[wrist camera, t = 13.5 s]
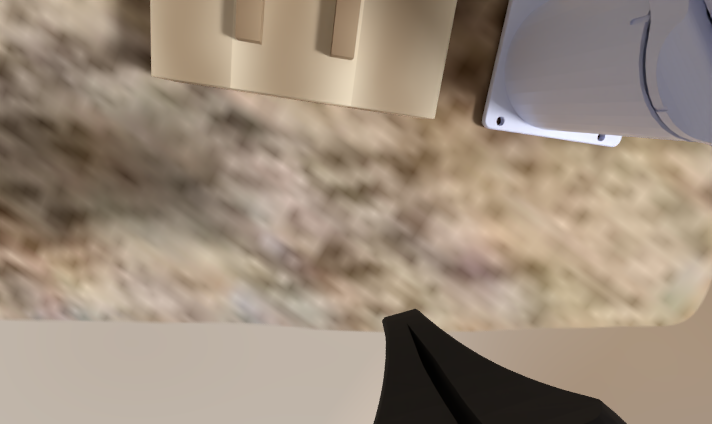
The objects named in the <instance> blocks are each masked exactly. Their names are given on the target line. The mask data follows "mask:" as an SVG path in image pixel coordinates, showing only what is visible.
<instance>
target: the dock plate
mask: <svg viewBox="0 0 712 424" xmlns="http://www.w3.org/2000/svg"><path fill="white" fill-rule="evenodd" d="M456 4H457V0H150V23H151V76H153V77H157V78H162V79H166V80H171V81H175V82H181V83H188V84H195V85H201V86H208V87H215V88H221V89H228V90H235V91H241V92H248V93H255V94H261V95H268V96H275V97H281V98H288V99H294V100H301V101H308V102H314V103H321V104H328V105H334V106H341V107H348V108H354V109H361V110H368V111H374V112H381V113H388V114H394V115H401V116H408V117H414V118H428V119H434V118H435V113H436V107H437V102H438V97H439V92H440V87H441V82H442V76H443V71H444V66H445V61H446V56H447V51H448V45H449V40H450V35H451V30H452V25H453V20H454V14H455V9H456Z"/></svg>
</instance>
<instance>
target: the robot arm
mask: <svg viewBox="0 0 712 424" xmlns="http://www.w3.org/2000/svg"><path fill="white" fill-rule="evenodd" d="M499 117H500V118H501V123H500V124H499V125H497V123H496V120H497V118H499ZM482 124H483V126H484V127H485V128H488V129H495V130H501V131H508V132H515V133H521V134H528V135H535V136H541V137H548V138H555V139H561V140H568V141H575V142H581V143H588V144H595V145H601V146H608V147H615V146H616V145H618V144H619V142H620V140H621V138H622V136H628V137H641V138H653V139H666V140H678V141H691V142H700V143H705V144H709V145H711V146H712V0H509V4H508V8H507V12H506V17H505V21H504V25H503V30H502V34H501V38H500V43H499V47H498V52H497V56H496V60H495V65H494V69H493V73H492V78H491V82H490V86H489V91H488V95H487V100H486V104H485V108H484V113H483V117H482ZM599 134H600V137H599V139H597V138H598V135H599ZM382 323H383V327H384V332H385V336H386V360H385V371H384V379H383V386H382V391H381V396H380V401H379V405H378V409H377V413H376V417H375V421H374V424H626V423H625V422H624V421H623V420H622V419H621V418H620V417H619V416H618V415H617V414H616V413H615V412H614V411H612V410H611V409H610V408H609V407H607V406H606V405H605V404H604V403H603V402H602V401H600V400H599V399H596V398H592V397H588V396H585V395H580V394H577V393H573V392H569V391H566V390H562V389H559V388H556V387H553V386H550V385H546V384H544V383H541V382H538V381H535V380H533V379H530V378H527V377H525V376H523V375H520V374H518V373H516V372H513V371H511V370H508V369H506V368H504V367H502V366H500V365H498V364H496V363H494V362H492V361H490V360H488V359H486V358H484V357H482V356H481V355H479V354H477V353H476V352H474V351H472V350H471V349H469V348H468V347H466V346H464V345H463V344H461V343H460V342H458V341H457V340H455V339H454V338H453V337H451V336H450V335H448V334H447V333H446V332H444V331H443V330H442V329H440V328H439V327H438V326H436V325H435V324H434V323H433V322H431V321H430V320H429V319H428V318H427V317H425V316H424V315H423V314H422V313H421V312H420V311H418V310H417V309H413V310H410V311H406V312H402V313H399V314H395V315H392V316H388V317H384V319H383V320H382Z"/></svg>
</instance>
